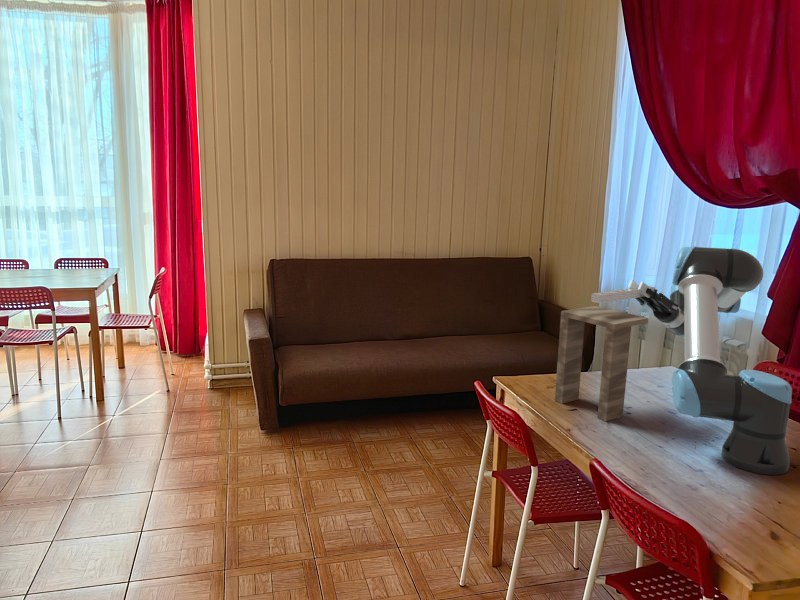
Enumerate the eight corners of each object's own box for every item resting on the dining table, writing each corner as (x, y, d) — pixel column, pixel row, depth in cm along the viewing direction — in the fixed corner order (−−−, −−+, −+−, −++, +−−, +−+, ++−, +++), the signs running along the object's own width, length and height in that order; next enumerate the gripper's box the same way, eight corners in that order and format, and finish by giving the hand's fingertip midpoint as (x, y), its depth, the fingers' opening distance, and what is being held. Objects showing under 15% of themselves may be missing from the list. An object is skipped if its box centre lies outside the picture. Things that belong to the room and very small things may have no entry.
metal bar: (654, 294, 197) (655, 287, 196) (599, 303, 181) (599, 295, 181) (646, 293, 199) (647, 285, 199) (591, 301, 184) (591, 293, 183)
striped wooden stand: (638, 411, 188) (648, 318, 182) (605, 421, 179) (614, 324, 173) (587, 392, 204) (594, 306, 198) (554, 400, 195) (561, 311, 189)
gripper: (686, 328, 199) (653, 299, 185) (643, 318, 212) (609, 290, 198) (694, 307, 200) (662, 277, 186) (651, 299, 213) (618, 270, 199)
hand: (635, 284), depth 192 cm, fingers closed on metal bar, 3 cm apart
